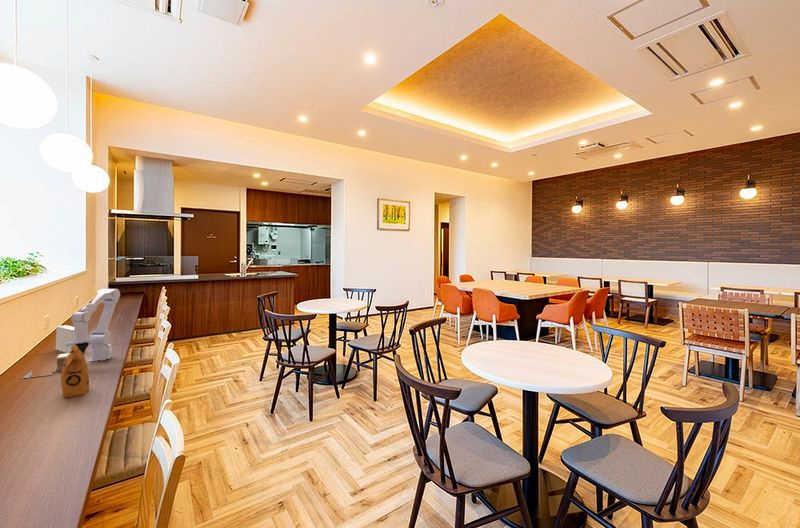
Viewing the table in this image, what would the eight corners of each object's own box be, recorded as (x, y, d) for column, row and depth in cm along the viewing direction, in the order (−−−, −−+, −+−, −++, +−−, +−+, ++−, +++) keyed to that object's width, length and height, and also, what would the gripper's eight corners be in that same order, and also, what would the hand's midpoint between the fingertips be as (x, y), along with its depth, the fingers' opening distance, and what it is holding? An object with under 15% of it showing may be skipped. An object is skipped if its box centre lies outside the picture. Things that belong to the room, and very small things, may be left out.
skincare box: (82, 352, 221) (81, 328, 220) (71, 354, 216) (71, 330, 215) (66, 347, 230) (66, 324, 229) (55, 349, 225) (55, 326, 224)
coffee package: (58, 400, 155) (57, 352, 154) (62, 390, 164) (62, 345, 164) (87, 394, 161) (87, 349, 160) (90, 386, 171) (90, 342, 170)
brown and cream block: (69, 367, 195) (69, 353, 195) (66, 370, 190) (66, 356, 190) (60, 368, 193) (60, 354, 193) (56, 371, 188) (56, 357, 188)
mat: (62, 364, 199) (62, 363, 199) (51, 375, 182) (51, 374, 182) (36, 367, 193) (36, 366, 193) (21, 379, 176) (21, 378, 176)
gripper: (92, 329, 203) (92, 351, 204) (60, 334, 190) (60, 358, 190) (99, 330, 201) (99, 353, 201) (68, 336, 187) (68, 360, 188)
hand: (81, 356), depth 195 cm, fingers closed
